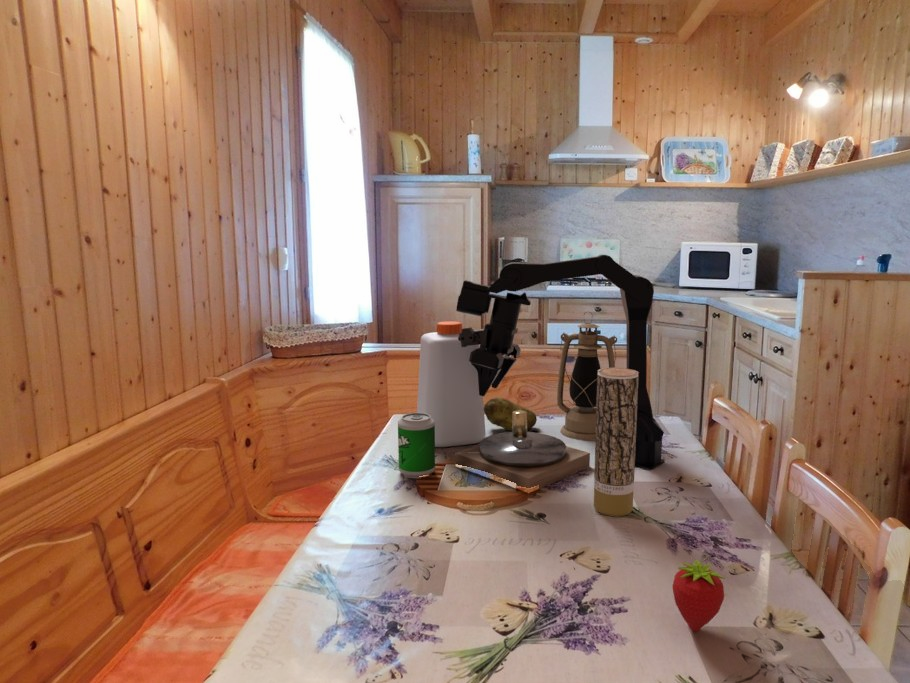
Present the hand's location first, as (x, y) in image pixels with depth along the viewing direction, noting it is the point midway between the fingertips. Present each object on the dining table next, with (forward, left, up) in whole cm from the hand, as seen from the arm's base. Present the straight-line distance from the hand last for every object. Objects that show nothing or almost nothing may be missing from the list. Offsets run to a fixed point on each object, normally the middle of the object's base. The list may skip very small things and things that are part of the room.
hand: (488, 391), depth 136 cm
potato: (+10, -19, -15) cm, 26 cm away
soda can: (+4, +17, -15) cm, 23 cm away
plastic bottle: (+16, -4, -15) cm, 23 cm away
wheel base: (-9, -1, -15) cm, 17 cm away
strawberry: (-60, +27, -15) cm, 67 cm away
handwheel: (-9, -1, -12) cm, 15 cm away
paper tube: (-34, +4, -15) cm, 37 cm away
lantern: (-5, -30, -15) cm, 34 cm away
